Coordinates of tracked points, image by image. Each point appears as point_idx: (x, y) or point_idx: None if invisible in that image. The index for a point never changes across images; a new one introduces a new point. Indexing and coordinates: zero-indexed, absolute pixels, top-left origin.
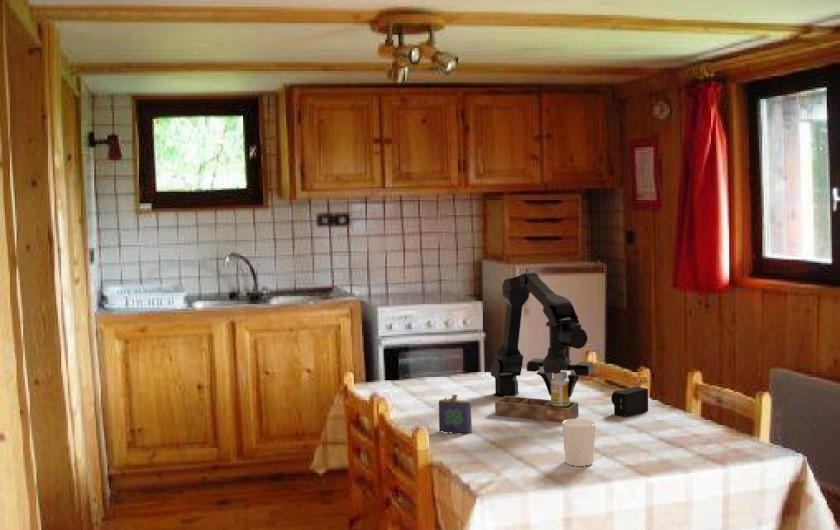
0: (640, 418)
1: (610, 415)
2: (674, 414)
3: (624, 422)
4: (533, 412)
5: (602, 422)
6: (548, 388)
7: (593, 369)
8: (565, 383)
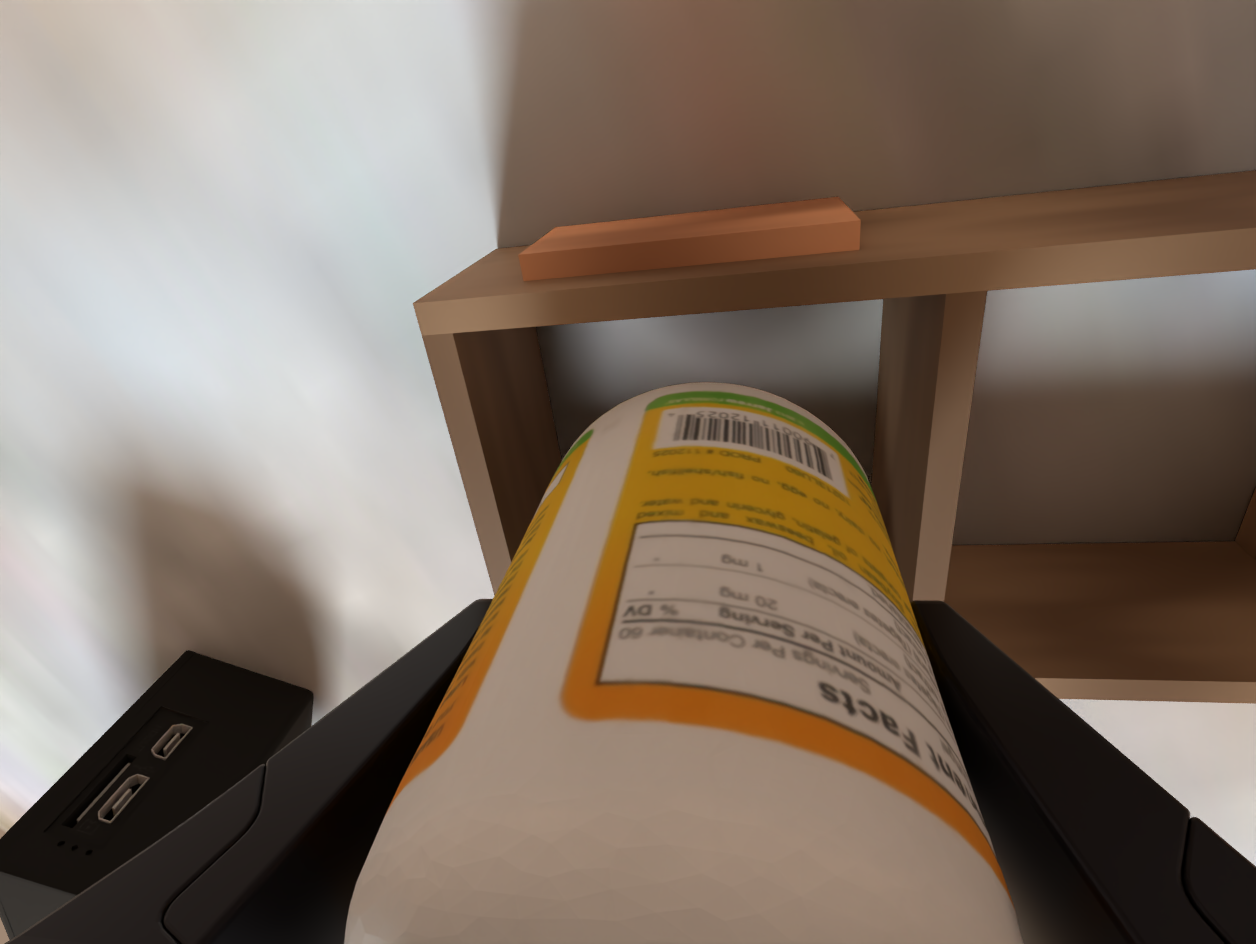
0: (87, 660)
1: (325, 669)
2: (26, 797)
3: (70, 512)
4: (1161, 204)
5: (211, 431)
6: (1032, 716)
7: None
8: (372, 852)
